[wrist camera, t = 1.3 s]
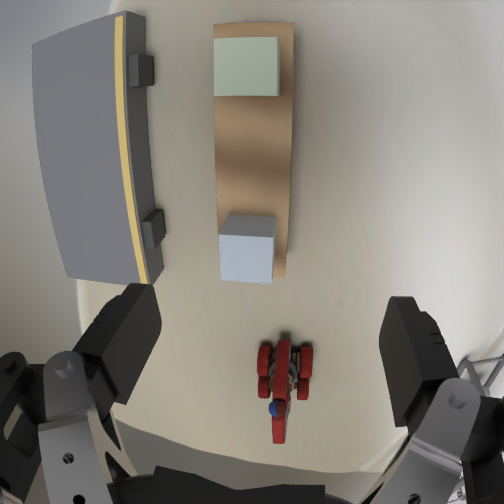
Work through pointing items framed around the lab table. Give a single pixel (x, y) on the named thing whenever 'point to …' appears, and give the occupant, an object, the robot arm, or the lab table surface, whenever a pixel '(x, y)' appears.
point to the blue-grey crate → (247, 248)
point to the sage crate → (247, 66)
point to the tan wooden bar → (256, 142)
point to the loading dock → (98, 149)
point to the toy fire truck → (283, 381)
